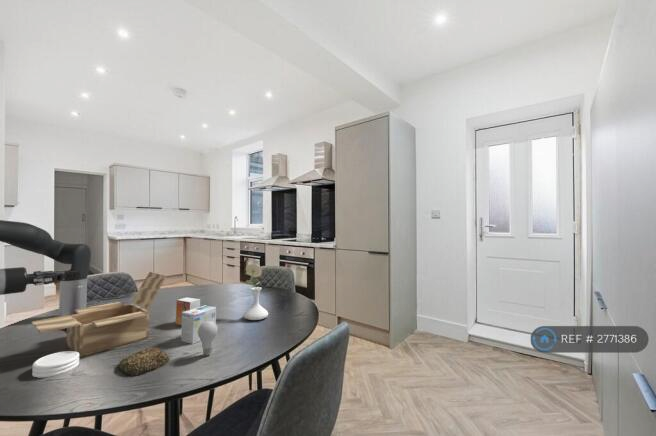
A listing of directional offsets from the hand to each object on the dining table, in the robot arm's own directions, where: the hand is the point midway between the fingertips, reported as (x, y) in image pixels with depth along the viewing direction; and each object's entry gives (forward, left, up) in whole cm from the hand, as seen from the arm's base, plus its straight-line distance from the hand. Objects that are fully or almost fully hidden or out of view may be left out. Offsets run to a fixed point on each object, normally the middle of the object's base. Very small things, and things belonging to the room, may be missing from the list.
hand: (78, 274), depth 97 cm
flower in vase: (+20, +59, -26) cm, 67 cm away
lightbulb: (+38, +25, -26) cm, 52 cm away
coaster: (+12, -7, -26) cm, 29 cm away
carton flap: (0, +19, -15) cm, 24 cm away
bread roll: (+29, +10, -26) cm, 40 cm away
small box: (+4, +36, -26) cm, 45 cm away
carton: (0, +5, -25) cm, 26 cm away
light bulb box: (+22, +31, -26) cm, 46 cm away
